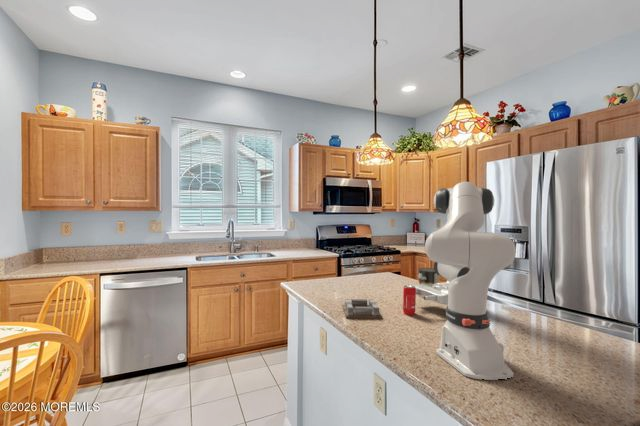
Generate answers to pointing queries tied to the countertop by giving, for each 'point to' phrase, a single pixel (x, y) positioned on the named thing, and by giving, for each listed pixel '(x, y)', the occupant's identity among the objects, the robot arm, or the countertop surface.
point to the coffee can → (427, 277)
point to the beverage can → (409, 299)
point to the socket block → (361, 309)
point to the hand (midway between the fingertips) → (417, 295)
